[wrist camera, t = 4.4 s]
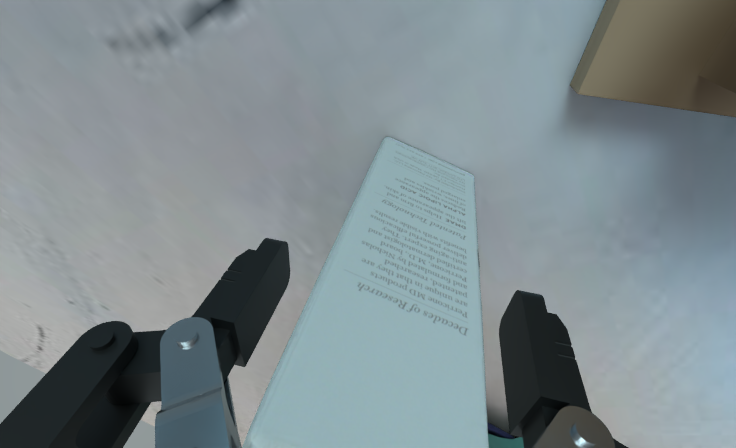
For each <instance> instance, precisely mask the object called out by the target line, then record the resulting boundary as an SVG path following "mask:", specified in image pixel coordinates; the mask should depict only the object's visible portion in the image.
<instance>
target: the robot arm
mask: <svg viewBox="0 0 736 448" xmlns="http://www.w3.org/2000/svg"><path fill="white" fill-rule="evenodd" d="M289 278H290V263H289V250H288V243H287V242H284V241H279V240H274V239H269V238H265V239H264V240H263V241H262V243H261V244H260V246H259V247H258V249H257V250H256V251H255V250H251V249H248V250H247V251H245V252H244V253H242V254H241V255H239V256H238V257H236V259H235V260H234V261H233V263H232V264H231V265H230V267H229V268H228V271H226V272H225V273H224V275H223V276H222V277H221V280H219V281H218V283H217V284H216V285H215V287H214V288H213V289H212V291H211V292H210V293H209V295H208V296H207V297H206V299H205V300H204V302H203V303H202V304H201V306H200V307H199V308H198V310H197V311H196V312H195V313H194V315H193V316H192V317H190V318H185V319H182V320H180V321H178V322H176V323H174V324H173V325H172V326H170V327H169V328H168V329H167V330H161V331H147V332H133V331H132V329H131V328H130V326H129V325H128V324H126V323H124V322H120V321H111V322H106V323H102V324H100V325H97V326H95V327H93V328H91V329H90V330H88V331H87V332H86V333H84V334H83V335H82V336H81V337H80V338H79V339H78V340H77V341H76V342H75V343H74V344H73V346H72V347H71V348H70V349H69V350H68V351H67V352H66V353H65V354H64V355H63V356H62V357H61V359H60V360H59V361H58V362H57V363H56V364H55V365H54V366H53V367H52V368H51V369H50V371H49V372H48V373H47V374H46V375H45V376H44V377H43V378H42V379H41V380H40V382H39V383H38V384H37V385H36V386H35V387H34V388H33V389H32V390H31V391H30V392H29V394H27V396H26V397H25V398H24V399H23V400H22V401H21V402H20V403H19V404H18V405H17V406H16V407H15V409H14V410H13V411H12V412H11V413H10V414H9V415H8V416H7V417H6V418H5V419H4V421H3V422H2V423H1V424H0V448H123V446H124V445H125V443H126V442H127V440H128V438H129V437H130V435H131V434H132V432H133V430H134V429H135V427H136V426H137V424H138V423H139V421H140V419H141V418H142V416H143V415H144V413H145V411H146V410H147V408H148V407H149V405H150V403H151V402H156V401H161V402H162V405H161V411H159V412H158V413H157V414H156V419H155V448H242V447H241V442H240V438H239V434H238V429H237V424H236V418H235V412H234V406H233V401H232V395H231V389H230V384H229V378H228V375H229V373H230V371H231V369H232V368H233V366H234V365H238V366H242V367H245V366H246V364H247V362H248V361H249V359H250V357H251V355H252V353H253V351H254V349H255V347H256V345H257V343H258V341H259V339H260V338H261V336H262V334H263V332H264V330H265V328H266V326H267V324H268V322H269V320H270V318H271V317H272V315H273V313H274V311H275V309H276V307H277V305H278V303H279V301H280V299H281V297H282V295H283V294H284V292H285V290H286V288H287V285H288V282H289ZM499 338H500V347H501V357H502V366H503V375H504V384H505V394H506V403H507V412H508V421H509V431H510V435H514V436H518V437H522V438H523V444H524V448H628V447H626V446H624V445H623V444H621V443H619V442H618V441H616V440H615V439H614V438H612V436H611V434H610V432H609V430H608V429H607V427H606V426H605V425H604V423H603V422H602V421H601V420H600V419H599V418H598V417H596V416H595V415H594V414H592V412H591V409H590V406H589V403H588V399H587V396H586V392H585V389H584V385H583V382H582V379H581V375H580V372H579V368H578V365H577V362H576V360H575V355H574V351H573V348H572V347H571V341H570V338H569V334H568V331H567V328H566V327H565V326H564V324H563V323H562V321H561V320H560V319H559V317H558V316H557V315H556V314H552V313H547V309H546V305H545V301H544V298H543V296H542V295H539V294H534V293H529V292H525V291H520V290H517V291H516V292H515V294H514V295H513V297H512V299H511V301H510V303H509V305H508V307H507V309H506V311H505V313H504V315H503V317H502V319H501V323H500V328H499Z"/></svg>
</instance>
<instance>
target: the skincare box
mask: <svg viewBox="0 0 736 448" xmlns="http://www.w3.org/2000/svg"><path fill="white" fill-rule="evenodd" d="M479 269H480V266H479V253H478V236H477V219H476V199H475V185H474V176H473V175H471V174H470V173H468V172H466V171H464V170H462V169H460V168H457V167H455V166H454V165H452V164H449V163H447V162H445V161H443V160H440V159H438V158H436V157H434V156H432V155H430V154H427V153H425V152H423V151H421V150H419V149H416V148H414V147H411V146H409V145H407V144H404V143H402V142H400V141H398V140H395V139H393V138H390V137H385V138H384V140H383V141H382V143H381V145H380V147H379V150H378V152H377V154H376V156H375V158H374V160H373V162H372V164H371V166H370V168H369V170H368V172H367V174H366V176H365V179H364V181H363V183H362V185H361V187H360V190H359V192H358V194H357V196H356V198H355V200H354V203H353V205H352V207H351V209H350V211H349V213H348V215H347V218H346V220H345V222H344V224H343V226H342V228H341V230H340V232H339V234H338V237H337V239H336V241H335V243H334V245H333V247H332V249H331V251H330V253H329V256H328V258H327V260H326V262H325V264H324V266H323V268H322V270H321V272H320V275H319V277H318V279H317V281H316V283H315V285H314V288H313V290H312V292H311V294H310V296H309V298H308V301H307V303H306V305H305V307H304V309H303V311H302V314H301V316H300V318H299V320H298V322H297V324H296V326H295V329H294V331H293V333H292V335H291V337H290V339H289V342H288V344H287V346H286V348H285V350H284V352H283V355H282V357H281V359H280V361H279V363H278V365H277V368H276V370H275V372H274V374H273V376H272V378H271V381H270V383H269V385H268V387H267V390H266V392H265V394H264V397H263V399H262V401H261V403H260V406H259V408H258V410H257V413H256V415H255V417H254V419H253V422H252V424H251V426H250V429H249V431H248V434H247V437H246V439H245V442H244V444H243V447H242V448H489V442H488V426H487V408H486V383H485V362H484V345H483V323H482V303H481V292H480V273H479Z"/></svg>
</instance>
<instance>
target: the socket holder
mask: <svg viewBox="0 0 736 448" xmlns="http://www.w3.org/2000/svg"><path fill="white" fill-rule="evenodd" d="M570 86H571V87H572V88H573V89H574V90H575V91H576V93H577V94H581V95H588V96H595V97H602V98H608V99H615V100H622V101H629V102H636V103H642V104H649V105H656V106H663V107H670V108H676V109H683V110H690V111H697V112H704V113H710V114H717V115H724V116H731V117H736V0H607V1H606V3H605V5H604V7H603V10H602V12H601V14H600V17H599V19H598V21H597V24H596V26H595V28H594V30H593V33H592V35H591V37H590V40H589V42H588V44H587V47H586V49H585V51H584V54H583V56H582V58H581V60H580V63H579V65H578V67H577V70H576V72H575V74H574V77H573V79H572V81H571V83H570Z"/></svg>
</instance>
